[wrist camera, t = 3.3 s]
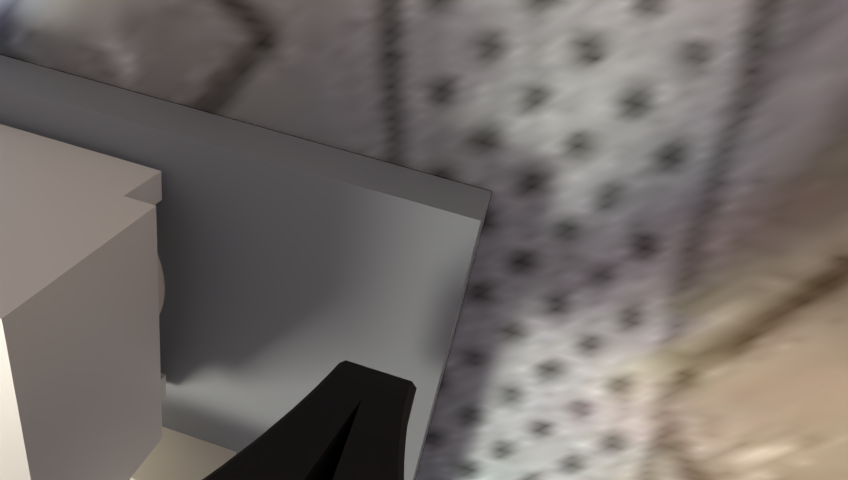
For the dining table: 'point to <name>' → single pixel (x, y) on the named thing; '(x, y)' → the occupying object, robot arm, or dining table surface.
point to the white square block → (77, 312)
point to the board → (270, 261)
